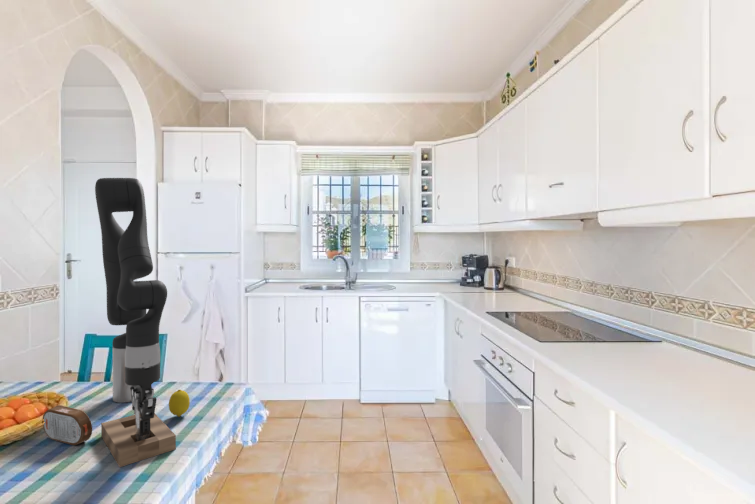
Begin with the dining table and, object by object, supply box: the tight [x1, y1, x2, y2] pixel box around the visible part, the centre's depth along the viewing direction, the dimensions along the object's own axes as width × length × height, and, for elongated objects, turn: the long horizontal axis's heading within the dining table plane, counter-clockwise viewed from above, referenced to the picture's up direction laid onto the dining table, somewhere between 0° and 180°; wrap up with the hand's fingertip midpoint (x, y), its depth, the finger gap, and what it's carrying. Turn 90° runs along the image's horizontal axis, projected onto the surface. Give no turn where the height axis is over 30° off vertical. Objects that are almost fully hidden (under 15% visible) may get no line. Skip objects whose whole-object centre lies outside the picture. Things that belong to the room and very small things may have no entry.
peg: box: [136, 405, 150, 442], centre depth 100 cm, size 3×3×10 cm
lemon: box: [168, 388, 191, 418], centre depth 119 cm, size 6×6×8 cm
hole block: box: [100, 412, 177, 468], centre depth 103 cm, size 20×12×4 cm, turn 44°
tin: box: [42, 404, 93, 446], centre depth 104 cm, size 15×3×8 cm, turn 71°
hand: (142, 431), depth 100 cm, fingers closed on peg, 3 cm apart
